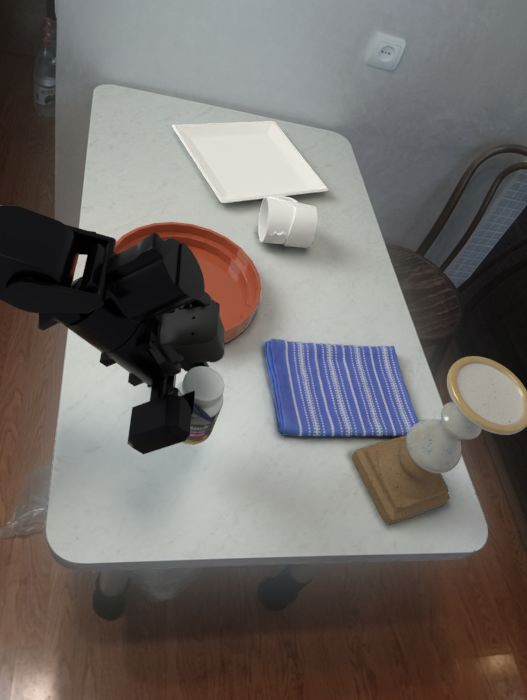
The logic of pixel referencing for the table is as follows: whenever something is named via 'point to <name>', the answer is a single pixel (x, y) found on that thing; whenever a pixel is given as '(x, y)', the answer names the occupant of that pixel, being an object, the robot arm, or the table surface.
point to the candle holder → (441, 439)
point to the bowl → (213, 269)
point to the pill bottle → (203, 399)
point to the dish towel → (338, 390)
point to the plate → (248, 160)
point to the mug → (287, 222)
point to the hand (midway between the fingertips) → (209, 400)
